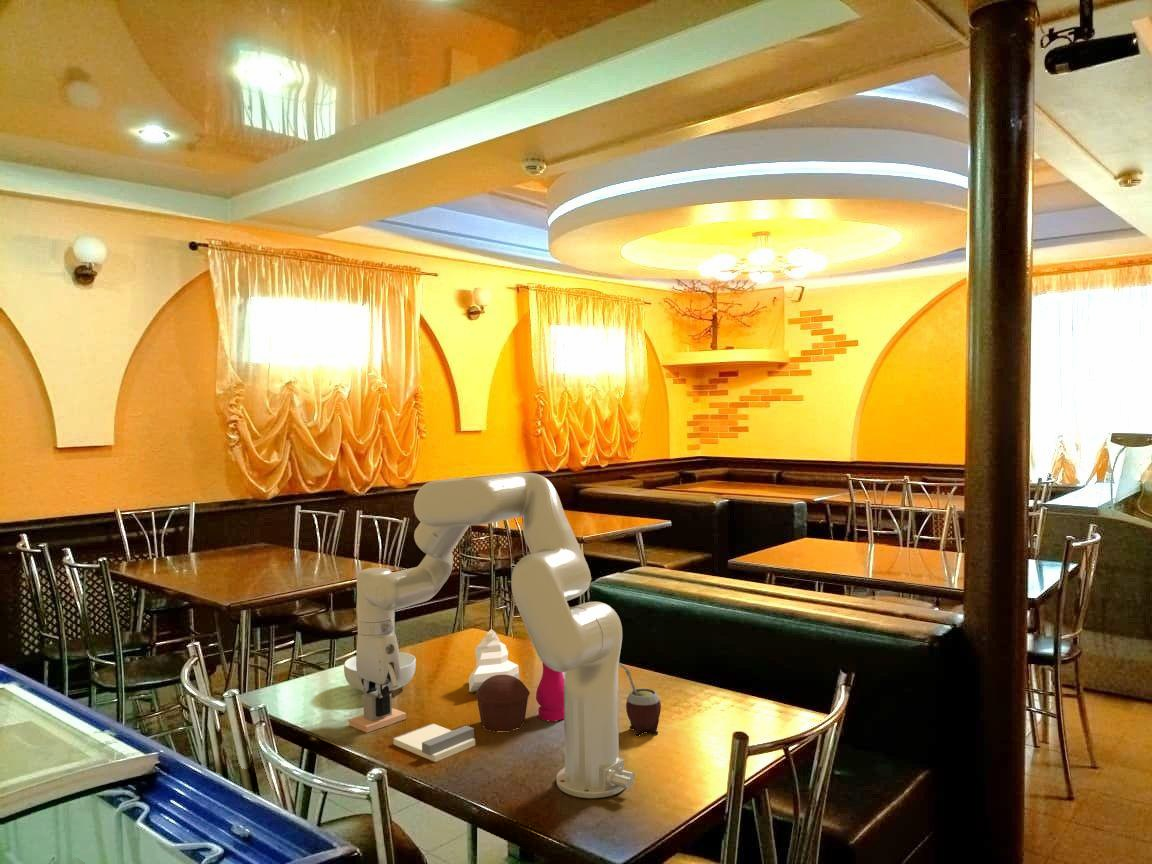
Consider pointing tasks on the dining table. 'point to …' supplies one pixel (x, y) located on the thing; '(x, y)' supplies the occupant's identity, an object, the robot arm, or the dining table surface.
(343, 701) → the dining table surface
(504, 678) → the muffin
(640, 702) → the mate gourd
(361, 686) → the cereal bowl
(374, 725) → the pink base grey block
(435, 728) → the base
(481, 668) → the soft serve ice cream
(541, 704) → the pepper mill
